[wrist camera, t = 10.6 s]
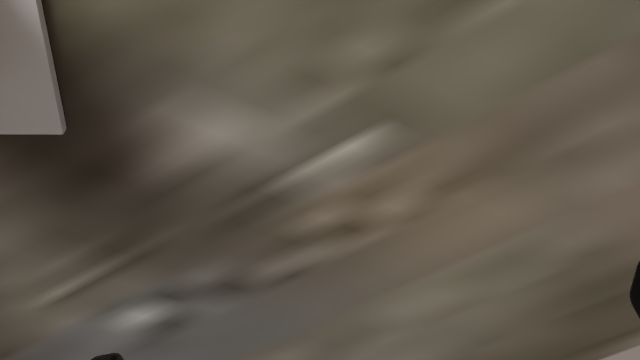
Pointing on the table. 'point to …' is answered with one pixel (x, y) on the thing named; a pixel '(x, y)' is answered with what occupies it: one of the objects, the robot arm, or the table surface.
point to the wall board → (27, 72)
